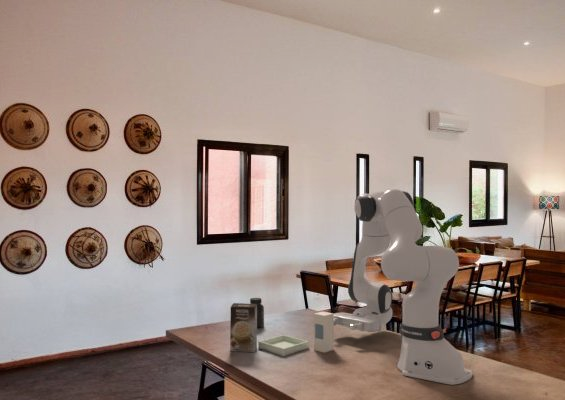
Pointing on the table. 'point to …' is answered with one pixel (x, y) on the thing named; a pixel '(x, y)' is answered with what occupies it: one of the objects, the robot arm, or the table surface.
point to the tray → (283, 345)
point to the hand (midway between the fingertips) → (341, 325)
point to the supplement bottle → (259, 311)
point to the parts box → (323, 331)
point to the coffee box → (243, 327)
